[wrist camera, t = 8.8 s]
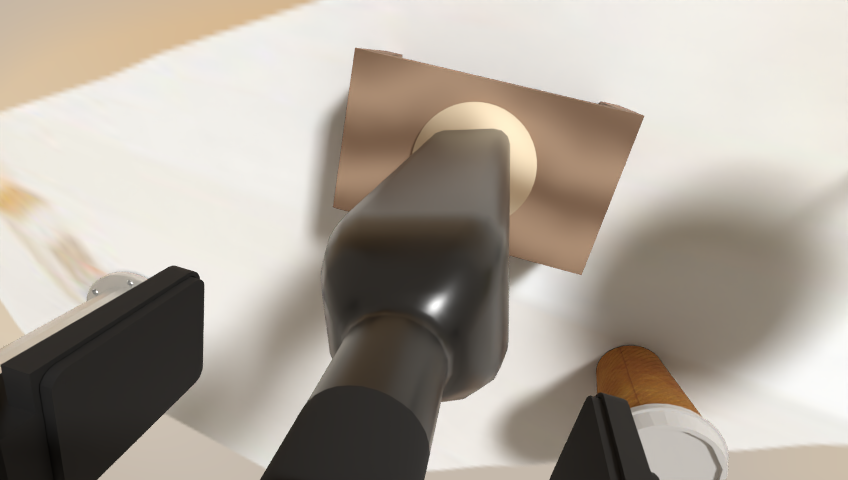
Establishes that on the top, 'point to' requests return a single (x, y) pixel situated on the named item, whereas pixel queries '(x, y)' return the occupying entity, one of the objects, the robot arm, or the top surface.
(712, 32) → the top surface
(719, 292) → the top surface
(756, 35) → the top surface
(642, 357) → the disposable coffee cup
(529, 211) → the brown rectangular block
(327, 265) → the wine bottle
